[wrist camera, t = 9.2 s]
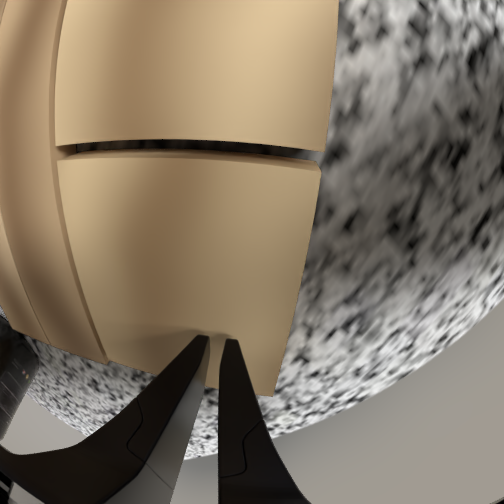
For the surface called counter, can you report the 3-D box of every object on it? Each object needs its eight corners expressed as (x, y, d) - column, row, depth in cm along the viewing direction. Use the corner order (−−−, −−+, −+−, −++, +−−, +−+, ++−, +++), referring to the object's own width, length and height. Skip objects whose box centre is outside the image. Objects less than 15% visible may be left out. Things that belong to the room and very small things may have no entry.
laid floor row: (110, -70, 3) (93, -82, 2) (117, 344, 13) (106, 364, 12) (-4, -5, 3) (-22, -6, 2) (24, 314, 13) (12, 328, 12)
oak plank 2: (315, 161, 8) (321, 172, 6) (275, 371, 12) (272, 396, 11) (83, 151, 8) (56, 160, 7) (121, 340, 13) (109, 360, 11)
